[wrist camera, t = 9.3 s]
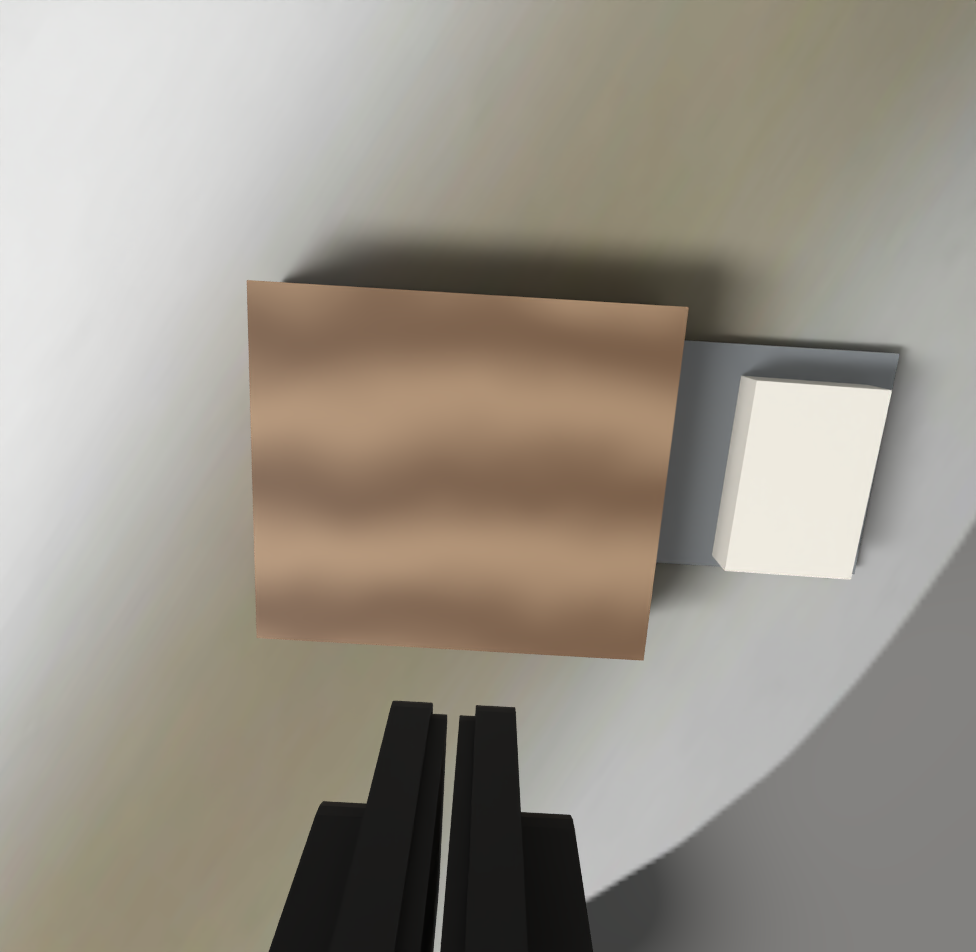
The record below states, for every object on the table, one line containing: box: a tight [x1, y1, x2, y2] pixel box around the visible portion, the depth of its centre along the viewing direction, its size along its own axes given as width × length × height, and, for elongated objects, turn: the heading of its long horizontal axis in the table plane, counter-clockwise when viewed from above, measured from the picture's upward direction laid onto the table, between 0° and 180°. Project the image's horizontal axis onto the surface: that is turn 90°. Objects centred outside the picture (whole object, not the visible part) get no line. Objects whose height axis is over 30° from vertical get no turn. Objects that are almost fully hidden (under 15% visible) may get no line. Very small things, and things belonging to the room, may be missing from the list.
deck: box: [247, 280, 689, 660], centre depth 32 cm, size 16×18×4 cm
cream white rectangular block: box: [712, 376, 892, 580], centre depth 32 cm, size 9×6×2 cm, turn 176°
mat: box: [656, 340, 900, 574], centre depth 34 cm, size 11×11×1 cm
